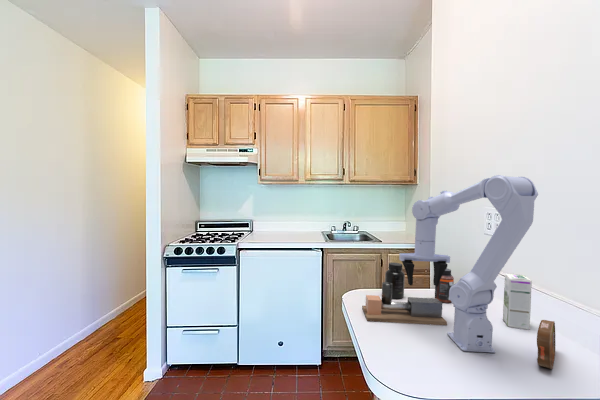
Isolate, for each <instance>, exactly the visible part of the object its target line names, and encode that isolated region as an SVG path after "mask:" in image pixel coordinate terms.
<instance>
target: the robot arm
mask: <svg viewBox="0 0 600 400" xmlns="http://www.w3.org/2000/svg"><path fill="white" fill-rule="evenodd" d="M538 196H539V191H538V190H537V188H536V186H535V183H534V182H533V181H532V180H531V179H530V178H529V177H525V176H507V175H501V174H496V175H494V176H491V177H486V178H484V179H482V180H481V181H479V182H477V183H474V184H472V185H470V186H468V187H466V188H463V189H460V190H459V191H456V192H453V191H448V190H442V191H440V194H438V195H436V196H429V197H428V198H427V199H426V200H422V199H418V200H416V201H415V202H414V203H413V205H412V209H411V211H412V212H411V213H412V216H413V217H414V219H415V232H414V233H415V235H414V237H415V238H414V252H410V253H409V252H407V253H402V252H401V253H398V255H399V256H398V260H399V261H401V264H402V266H403V267H404V270H405V274H406V277H407V284H408V285H409V286H413V283H414V270H415V269H414V268H415V264H414V262H430V263H431V262H432V265H433V286H434V287H435V286H436V287H438V286H439V282H440V279H441V277H442V275H443V273H444V271H445V270H446V268H447V269H448V266H449V265H448V264H450V263H451V256H450V255H448V254H436V239H437V238H436V237H437V225H438V222H439V219H440V217H441V216H444V215H447V214H450V213H454V212H456V211H458V210H459V207H460V205H462V204H466V203H469V202H472V201H476V200H479V199H483V198H484V199H487V200H488V201H489V202H490V204H491V205H492V206H493V208H494V209H495V210H496V211H497V212H498V214H499V216H500V218H501V221H500V223H499V224H498V225H497V227H496V229H495V230H494V232H493V234H492V236H491V237H490V239H489V241H488V242H487V244H486V245H485V247H484V248H483V251H482V252H481V254H480V255H479V256H478V258H477V260H476V262H475V264H474V265H473V266H472V268H471V270H470V271H469V272H467V273H466V274H464V275H463V276H461V277H460V278H459V280H458V281H457V282H456V283H454V284H453V285H452V286H451V288H450V290H449V297H450V300H451V302H450V303H451V304H453V308H454V313H453V315H454V317H453V318H454V319H453V332H451V331H447V333H446V334H447V335H448V337H449V338H451V340H452V341H453V342H454V343H455V345H456V346H457V347H458V348H459V349H460V351H463V352H476V353H477V352H478V353H479V352H480V353H496V349H494V348H493V347H492V346H493V344H492V343H493V331H494V329H493V328H494V327H493V324H492V323H491V321H490V319H489V318H488V315H487V310H488V308H489V305H490V304H491V303H492V302H493V300H494V297H495V296H494V295H495V290H496V289H497V284H496V282H495V280H496V279H497V277H498V276H499V274H500V273H501V272H502V270H503V268H504V267H505V266H506V264H507V263H508V261H509V260H510V258H511V256H512V255H513V253H514V251H515V250H516V249H517V247H518V246H519V244H520V243H521V241H522V240H523V238H524V237H525V235H526V234H527V232H528V231H529V229H530V227H531V226H532V224H533V222H534V216H535V215H534V213H535V212H534V211H535V201H536V199H537V197H538Z"/></svg>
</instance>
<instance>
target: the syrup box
mask: <svg viewBox="0 0 600 400" xmlns="http://www.w3.org/2000/svg"><path fill="white" fill-rule="evenodd" d="M532 281H533V280H531V279H530V278H529V277H527V276H526V275H522V274H514V273H512V274H511V273H505V274H504V285H503V286H504V287H503V288H504V289H503V290H504V291H503V304H502V305H503V309H502V311H503V312H502V320H503V321H504V323H505V324H506V326H507V327H509V328H513V329H520V330H528V331H529V330H530V328H531V327H530V326H531V313H532V312H531V309H532V308H531V307H532V287H533V286H532V283H533V282H532Z"/></svg>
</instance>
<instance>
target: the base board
mask: <svg viewBox="0 0 600 400" xmlns="http://www.w3.org/2000/svg"><path fill="white" fill-rule="evenodd" d="M365 306H366V305H362V312H363V314H364V316H365V319H366V322H373V323H374V322H378V323H395V324H397V323H398V324H414V325H430V324H431V325H432V326H433V325H434V326H435V325H436V326H448V321H447V320H446V319H445V318H444V316H442V318H431V317H412V316H410V314H409V313H408V311H405V310H386V309H381V315H373V314H367V311H366V309H365Z"/></svg>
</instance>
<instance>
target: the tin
mask: <svg viewBox="0 0 600 400" xmlns="http://www.w3.org/2000/svg"><path fill="white" fill-rule="evenodd" d="M538 325H539V326H538V328H537V333H536V347H537V358H536V361H537V365H538V366H539V367H544V368H547V369H550V370H553V368H554V362H555V357H556V323H555V321H554V320H553V321H552V320H547V319H541V320H540V323H539V324H538Z"/></svg>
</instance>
